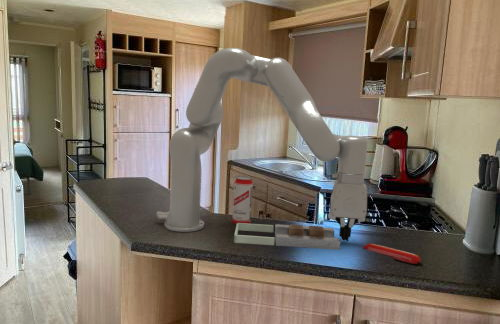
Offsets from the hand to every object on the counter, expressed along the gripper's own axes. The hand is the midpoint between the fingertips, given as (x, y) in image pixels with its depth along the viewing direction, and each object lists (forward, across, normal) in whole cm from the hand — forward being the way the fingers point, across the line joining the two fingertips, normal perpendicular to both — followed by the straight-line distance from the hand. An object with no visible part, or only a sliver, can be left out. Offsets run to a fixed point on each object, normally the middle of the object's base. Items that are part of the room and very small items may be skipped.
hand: (344, 239), depth 117 cm
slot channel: (+2, -12, 0) cm, 12 cm away
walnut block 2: (+1, -8, 0) cm, 9 cm away
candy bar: (+3, +12, -6) cm, 14 cm away
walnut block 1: (+1, -14, 0) cm, 15 cm away
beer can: (+3, -32, +14) cm, 35 cm away
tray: (+2, -27, 0) cm, 27 cm away
